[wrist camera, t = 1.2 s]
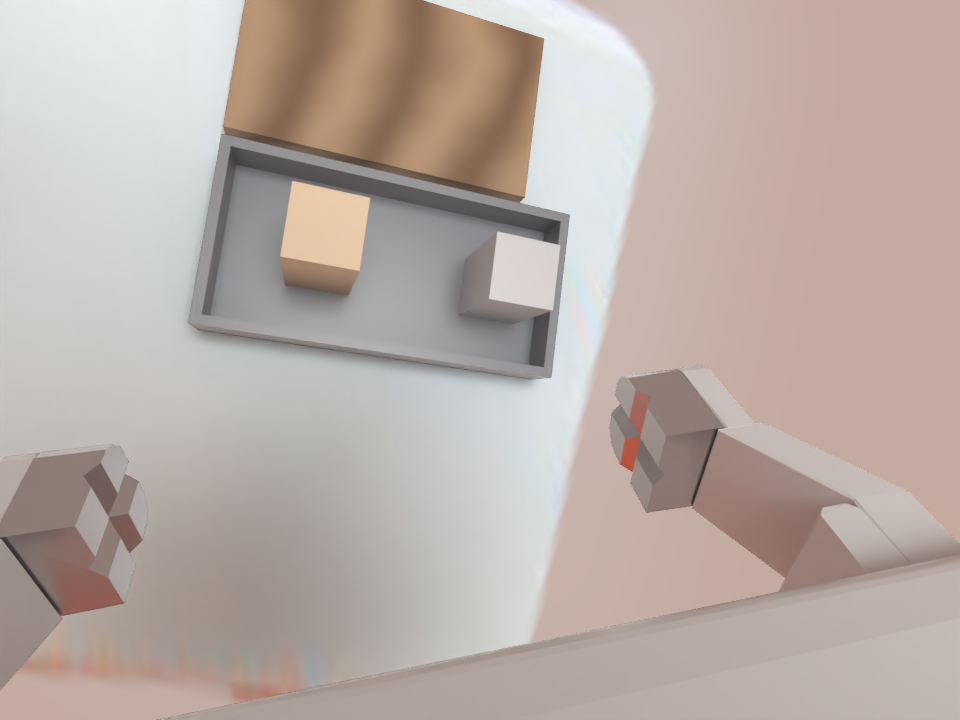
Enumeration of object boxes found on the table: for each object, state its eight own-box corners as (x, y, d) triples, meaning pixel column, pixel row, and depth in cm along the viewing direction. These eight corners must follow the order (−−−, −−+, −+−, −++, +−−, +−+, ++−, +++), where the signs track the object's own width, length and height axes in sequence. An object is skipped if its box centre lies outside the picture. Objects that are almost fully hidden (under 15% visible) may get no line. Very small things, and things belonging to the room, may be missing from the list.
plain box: (458, 314, 41) (489, 298, 35) (466, 258, 42) (497, 231, 35) (513, 324, 42) (552, 310, 36) (520, 269, 43) (560, 245, 36)
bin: (198, 329, 37) (188, 322, 34) (228, 156, 38) (221, 133, 35) (531, 379, 43) (551, 377, 40) (549, 228, 44) (569, 214, 41)
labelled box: (284, 284, 38) (280, 256, 30) (294, 221, 39) (292, 177, 31) (348, 295, 39) (359, 270, 32) (357, 234, 40) (370, 195, 32)
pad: (225, 134, 38) (223, 126, 37) (255, -40, 39) (254, -53, 38) (518, 202, 44) (524, 197, 43) (537, 47, 45) (543, 38, 44)
